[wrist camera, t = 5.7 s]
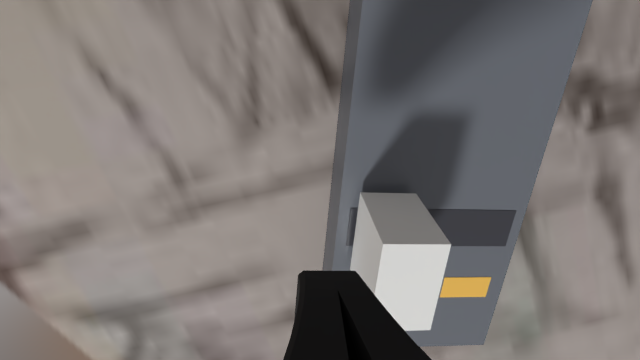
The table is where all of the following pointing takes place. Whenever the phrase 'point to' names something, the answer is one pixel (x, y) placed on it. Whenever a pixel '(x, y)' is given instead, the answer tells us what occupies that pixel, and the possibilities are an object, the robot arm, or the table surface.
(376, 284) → the tab
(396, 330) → the robot arm
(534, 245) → the table surface
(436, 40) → the switch block
